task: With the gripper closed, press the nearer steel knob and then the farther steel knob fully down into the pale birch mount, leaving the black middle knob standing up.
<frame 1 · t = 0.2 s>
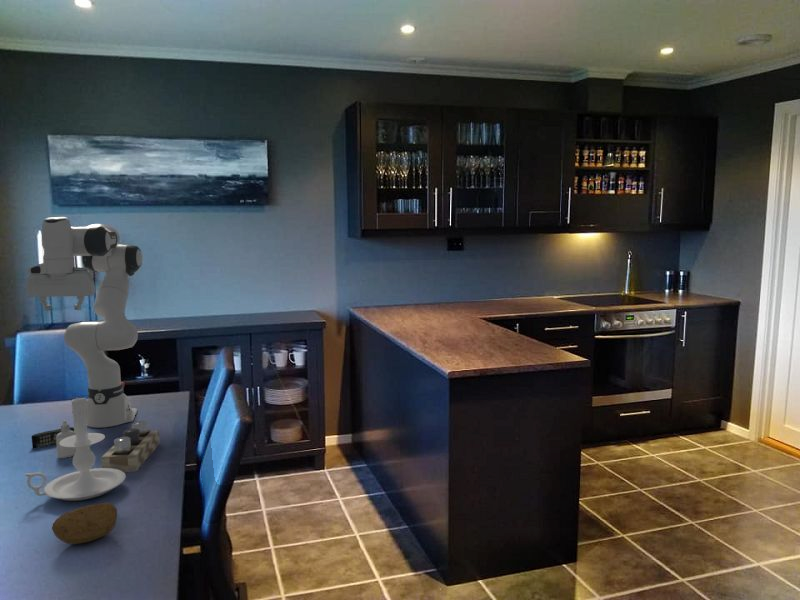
hand: (62, 310, 202), 48 cm above the table, tool pointing down, fingers open, 8 cm apart
potato: (87, 541, 149), on the table
eye dropper bottle: (67, 456, 204), on the table
candlestick: (78, 495, 175), on the table
steel knob 1: (122, 447, 193), point 7 cm above the table, slide at 0.0 cm
mobile phone: (57, 444, 217), on the table
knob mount: (132, 457, 202), on the table
black knob middle: (131, 438, 201), point 7 cm above the table, slide at 0.0 cm
steel knob 2: (139, 430, 209), point 6 cm above the table, slide at 0.0 cm
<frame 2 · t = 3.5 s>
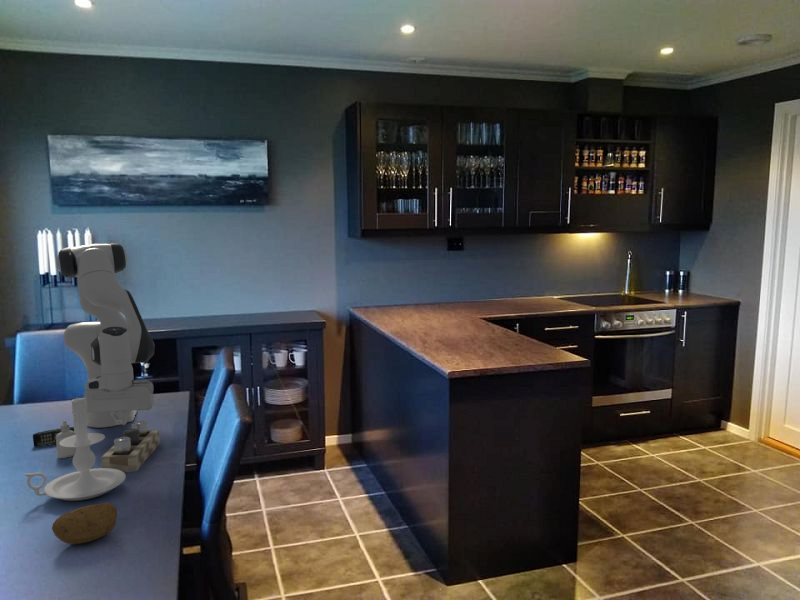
hand: (120, 424, 192), 14 cm above the table, tool pointing down, fingers closed
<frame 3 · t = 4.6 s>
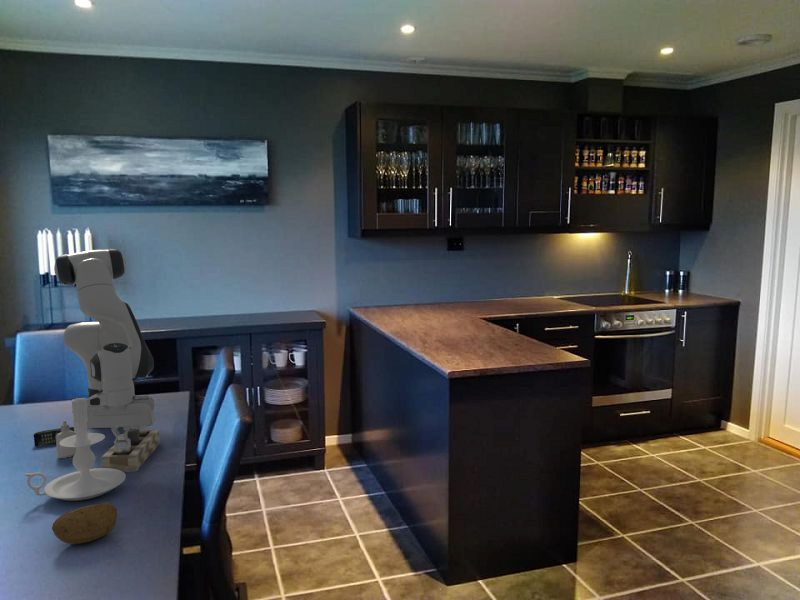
hand: (121, 440, 193), 9 cm above the table, tool pointing down, fingers closed, pressing on steel knob 1
steel knob 1: (122, 448, 194), point 6 cm above the table, slide at 0.3 cm, touching gripper
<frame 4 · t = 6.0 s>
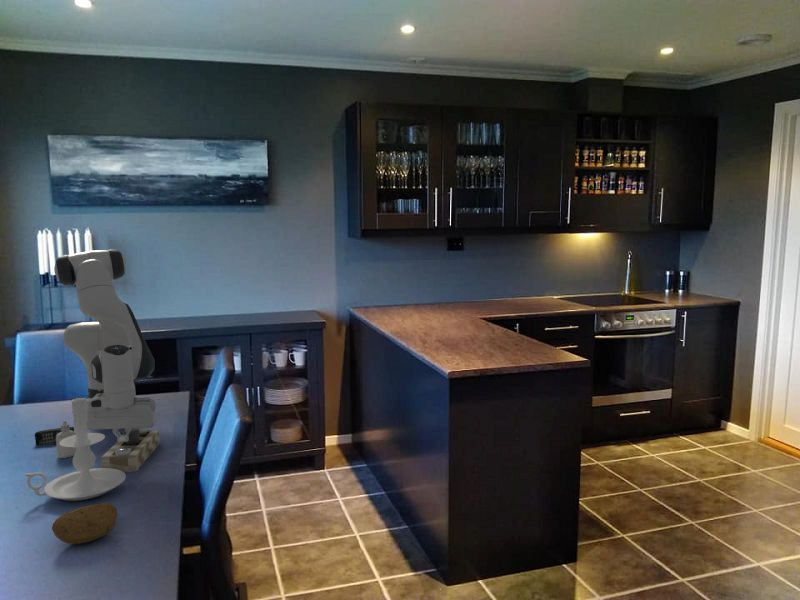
hand: (123, 441, 194), 8 cm above the table, tool pointing down, fingers closed
steel knob 1: (123, 456, 194), point 3 cm above the table, slide at 3.1 cm
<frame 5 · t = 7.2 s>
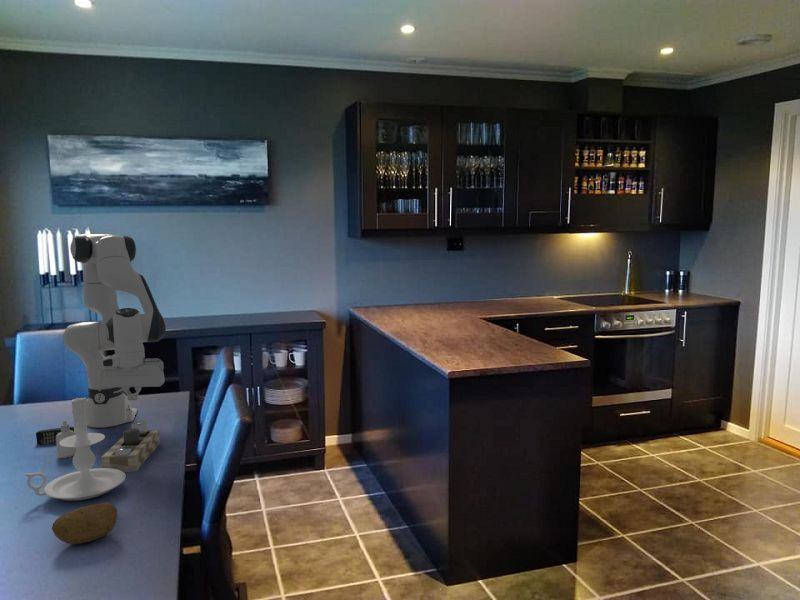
hand: (133, 399, 205), 18 cm above the table, tool pointing down, fingers closed
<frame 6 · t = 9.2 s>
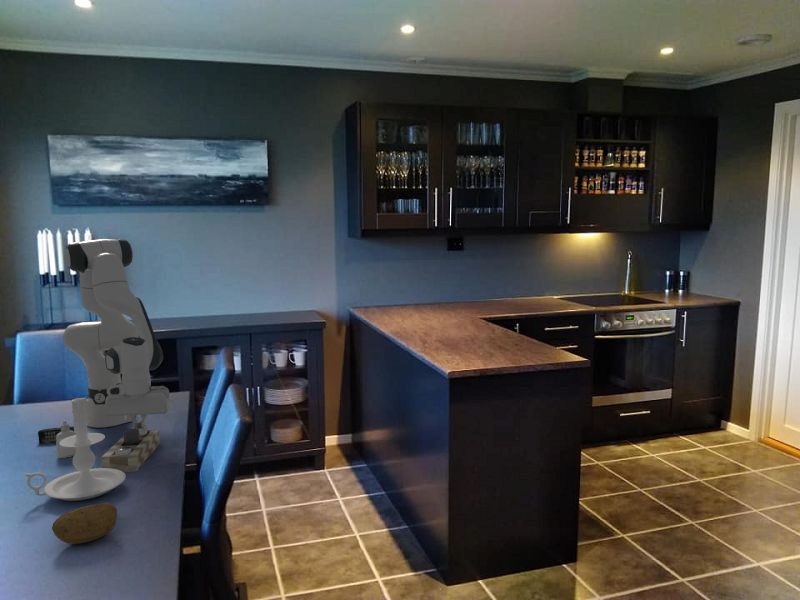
hand: (139, 427, 209), 8 cm above the table, tool pointing down, fingers closed, pressing on steel knob 2
steel knob 2: (139, 434, 209), point 5 cm above the table, slide at 1.4 cm, touching gripper
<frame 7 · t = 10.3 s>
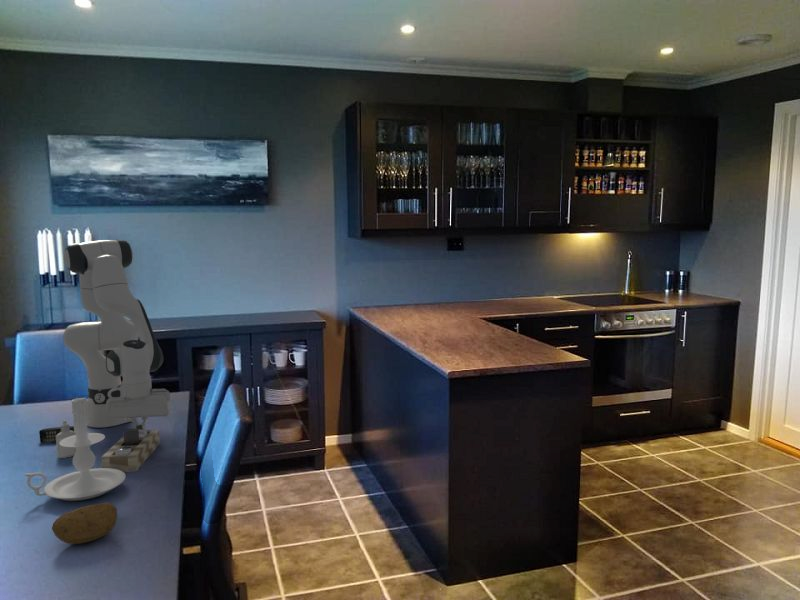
hand: (140, 429, 210), 7 cm above the table, tool pointing down, fingers closed
steel knob 2: (140, 439, 210), point 3 cm above the table, slide at 3.1 cm
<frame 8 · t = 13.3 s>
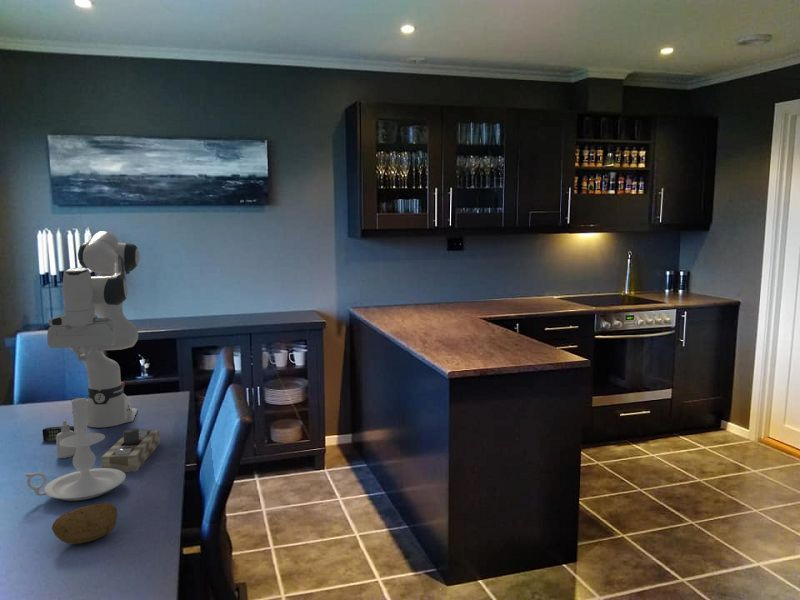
hand: (83, 360, 204), 31 cm above the table, tool pointing down, fingers closed
at the end: steel knob 1 slide at 3.1 cm; steel knob 2 slide at 3.1 cm; black knob middle slide at 0.0 cm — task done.
